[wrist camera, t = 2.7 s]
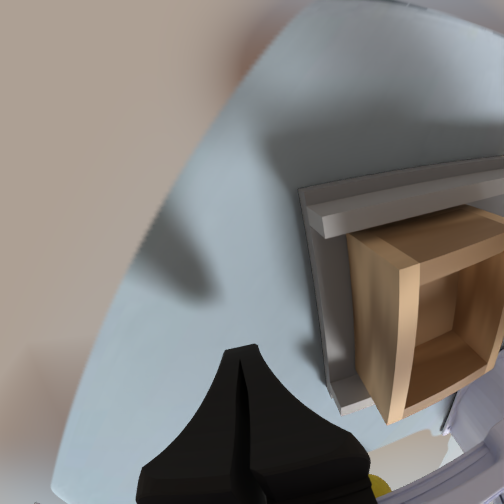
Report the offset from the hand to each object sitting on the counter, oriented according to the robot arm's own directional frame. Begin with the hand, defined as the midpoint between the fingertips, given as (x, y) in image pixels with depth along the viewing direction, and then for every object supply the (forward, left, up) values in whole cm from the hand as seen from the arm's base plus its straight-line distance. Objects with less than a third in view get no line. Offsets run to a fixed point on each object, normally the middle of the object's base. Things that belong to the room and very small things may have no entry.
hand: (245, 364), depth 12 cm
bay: (0, -12, -3) cm, 13 cm away
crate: (0, -9, -2) cm, 9 cm away
